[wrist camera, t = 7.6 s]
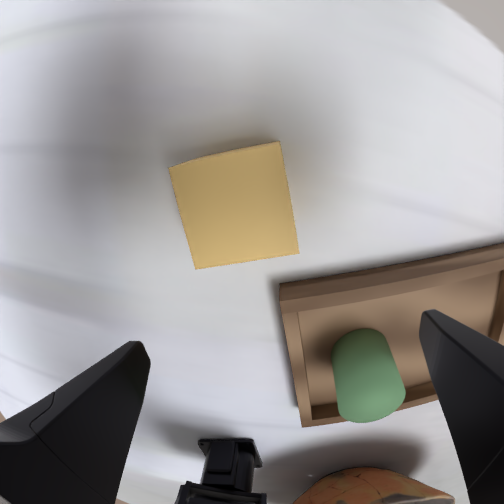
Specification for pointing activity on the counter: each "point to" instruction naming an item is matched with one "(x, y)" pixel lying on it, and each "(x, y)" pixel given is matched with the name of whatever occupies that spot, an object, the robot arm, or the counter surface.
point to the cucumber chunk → (366, 376)
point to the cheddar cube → (236, 206)
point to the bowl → (372, 489)
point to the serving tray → (386, 319)
